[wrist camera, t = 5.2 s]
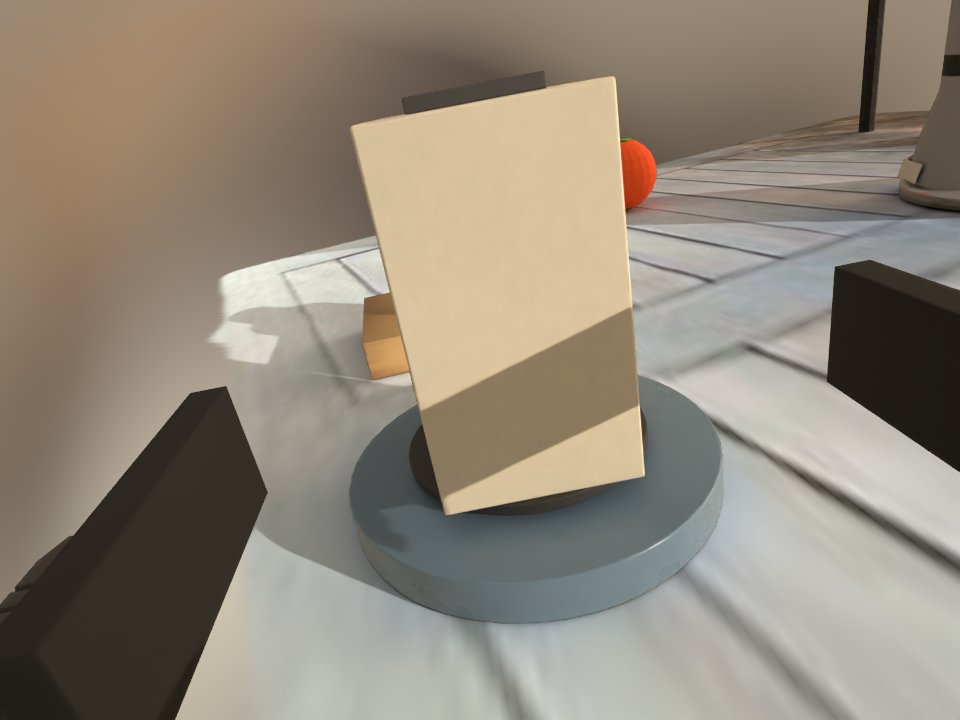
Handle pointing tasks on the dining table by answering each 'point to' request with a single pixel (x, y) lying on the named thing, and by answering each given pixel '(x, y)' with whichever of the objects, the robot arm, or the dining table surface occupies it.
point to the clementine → (636, 172)
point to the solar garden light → (871, 64)
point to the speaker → (510, 290)
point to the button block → (382, 338)
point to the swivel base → (544, 527)
